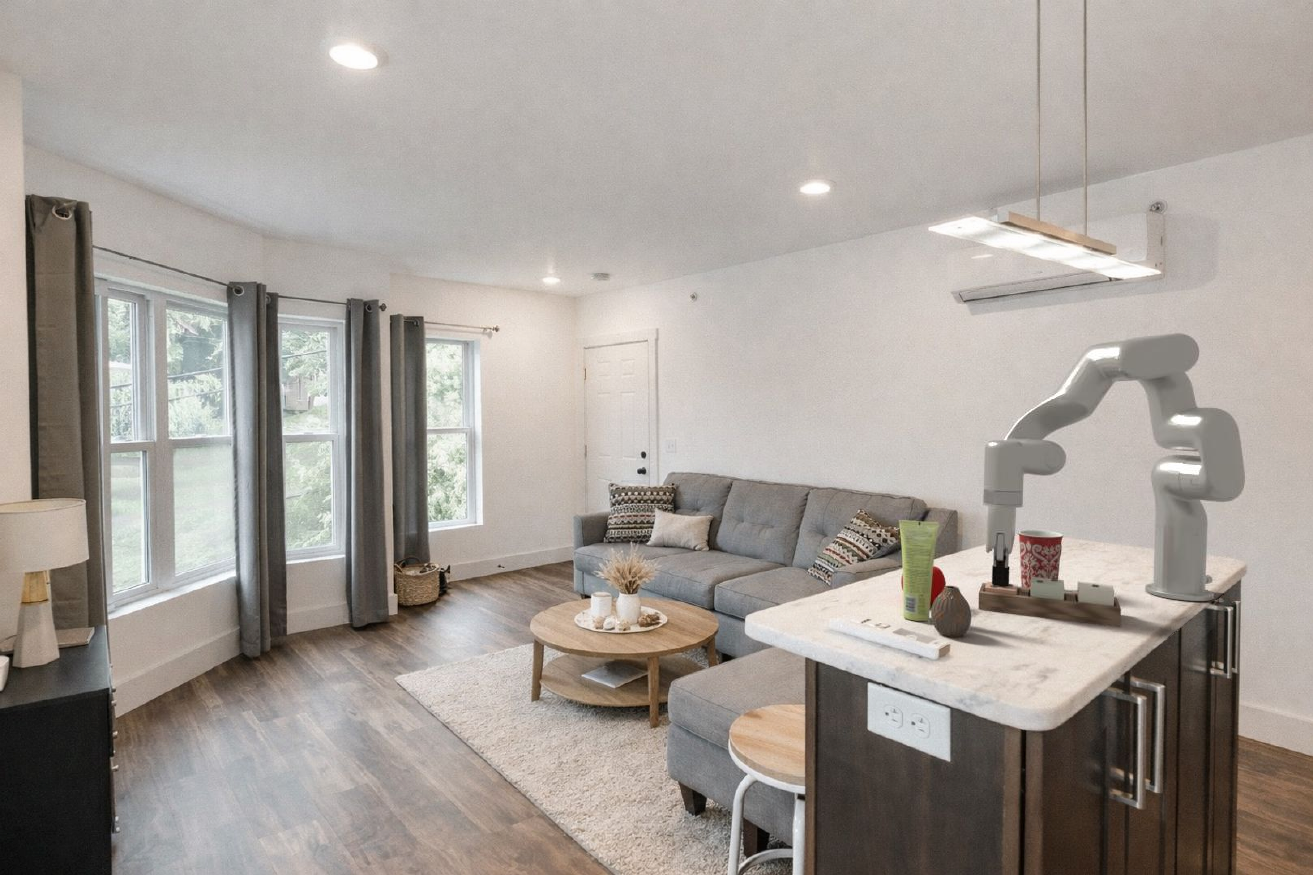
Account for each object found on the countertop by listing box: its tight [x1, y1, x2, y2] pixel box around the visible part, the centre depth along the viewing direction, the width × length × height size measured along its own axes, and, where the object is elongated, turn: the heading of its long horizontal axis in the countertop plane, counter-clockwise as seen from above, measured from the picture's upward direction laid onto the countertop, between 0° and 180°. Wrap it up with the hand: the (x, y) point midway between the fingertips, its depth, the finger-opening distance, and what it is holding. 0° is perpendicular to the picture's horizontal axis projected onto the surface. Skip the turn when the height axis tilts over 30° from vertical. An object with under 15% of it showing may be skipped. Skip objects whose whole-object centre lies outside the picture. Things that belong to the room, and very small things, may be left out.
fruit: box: [900, 565, 947, 606], centre depth 155 cm, size 9×9×10 cm
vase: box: [930, 585, 972, 638], centre depth 133 cm, size 7×7×9 cm
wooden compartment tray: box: [977, 582, 1122, 628], centre depth 149 cm, size 25×10×4 cm, turn 61°
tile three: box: [985, 581, 1019, 595], centre depth 153 cm, size 6×6×3 cm
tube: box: [898, 519, 940, 622], centre depth 143 cm, size 6×5×20 cm
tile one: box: [1076, 581, 1115, 606], centre depth 144 cm, size 6×6×3 cm
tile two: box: [1030, 577, 1065, 600], centre depth 149 cm, size 6×6×3 cm
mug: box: [1017, 529, 1064, 588], centre depth 166 cm, size 13×9×14 cm
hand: (1000, 584), depth 153 cm, fingers closed
